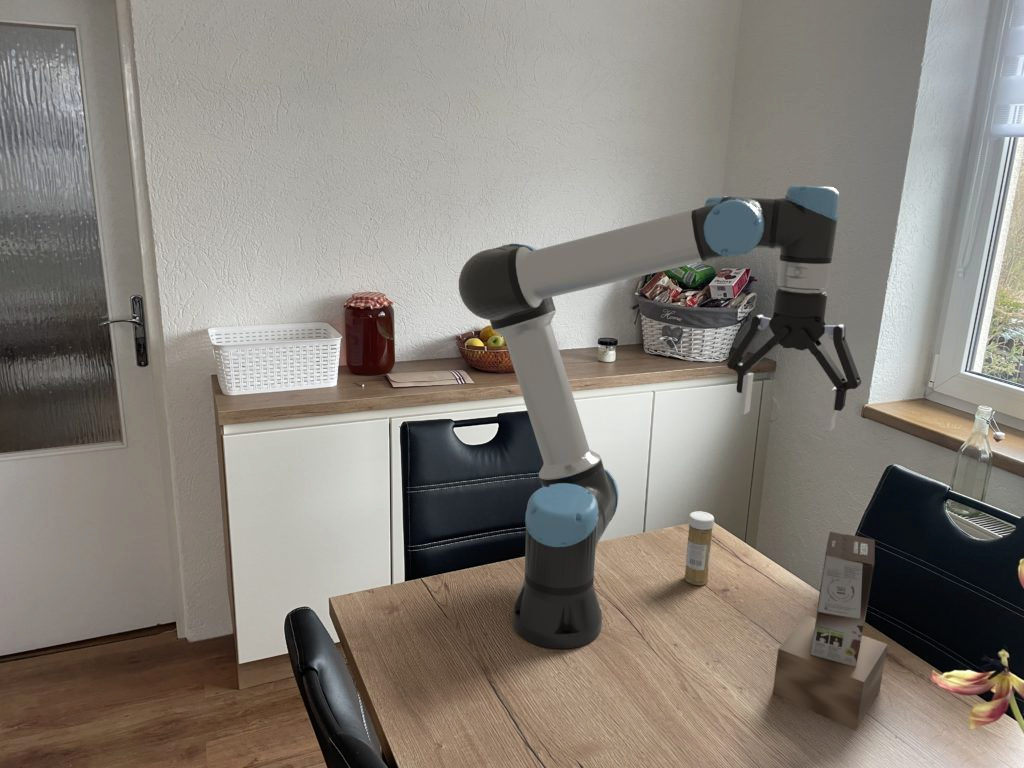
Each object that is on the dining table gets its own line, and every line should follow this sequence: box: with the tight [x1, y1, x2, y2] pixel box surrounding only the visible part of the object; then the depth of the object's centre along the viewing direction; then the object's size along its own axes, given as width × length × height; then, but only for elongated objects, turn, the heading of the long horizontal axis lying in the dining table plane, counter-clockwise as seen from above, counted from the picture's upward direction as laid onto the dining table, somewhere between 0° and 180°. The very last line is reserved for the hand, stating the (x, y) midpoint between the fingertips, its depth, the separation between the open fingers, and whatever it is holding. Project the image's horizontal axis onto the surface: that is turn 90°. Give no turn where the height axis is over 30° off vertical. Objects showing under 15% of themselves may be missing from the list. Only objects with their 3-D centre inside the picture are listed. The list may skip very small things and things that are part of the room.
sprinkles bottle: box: [683, 510, 715, 586], centre depth 148 cm, size 5×5×13 cm
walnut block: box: [772, 614, 888, 731], centre depth 117 cm, size 12×12×8 cm
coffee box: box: [811, 531, 876, 667], centre depth 114 cm, size 9×6×16 cm
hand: (785, 420), depth 127 cm, fingers open, 13 cm apart
